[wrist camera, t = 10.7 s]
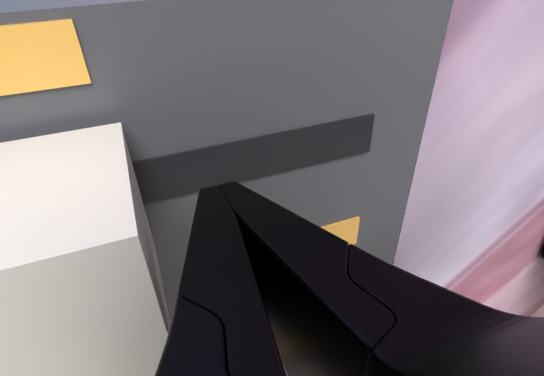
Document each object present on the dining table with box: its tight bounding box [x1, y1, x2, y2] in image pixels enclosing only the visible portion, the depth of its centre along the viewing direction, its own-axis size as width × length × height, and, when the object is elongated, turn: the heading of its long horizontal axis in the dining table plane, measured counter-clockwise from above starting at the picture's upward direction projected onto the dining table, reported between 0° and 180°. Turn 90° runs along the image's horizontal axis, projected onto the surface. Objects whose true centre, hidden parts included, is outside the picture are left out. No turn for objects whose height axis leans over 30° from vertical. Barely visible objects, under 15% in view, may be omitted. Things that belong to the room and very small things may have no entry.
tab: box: [0, 122, 170, 376], centre depth 7 cm, size 3×4×4 cm
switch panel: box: [0, 0, 453, 376], centre depth 15 cm, size 14×22×2 cm, turn 3°
